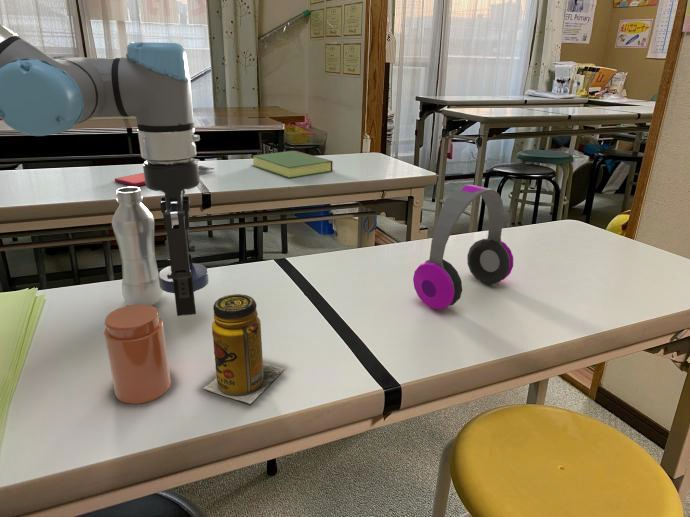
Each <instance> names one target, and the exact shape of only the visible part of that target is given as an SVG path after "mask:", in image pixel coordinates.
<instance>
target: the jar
mask: <svg viewBox="0 0 690 517" xmlns="http://www.w3.org/2000/svg"><path fill="white" fill-rule="evenodd" d="M104 326H105V328H104V331H103V335H104V341H105V346H106V347H105V348H106V352H107V358H108V362H109V368H110V373H111V379H112V385H113V390H114V395H115V397H116V399H117V400H118V401H120V402H122V403H125V404H133V405H138V404H144V403H145V404H146V403H148V402H152V401H154V400H156V399H158V398H160V397H162V396H163V395H165V394H166V393H167V392H168V391H169V389H170V387H171V385H172V381H171V373H170V364H169V358H168V350H167V342H166V336H165V334H166V333H165V328H164V327H165V326H164V322H163V319H162V318H160V316H159V311H158V308H156V306H153V305H145V304H136V305H129V304H128V305H124V306H121V307H118V308H116V309H114V310H113V311H110V312H109V313H108V314H107V316H106V317H105V320H104Z"/></svg>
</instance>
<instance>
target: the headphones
mask: <svg viewBox="0 0 690 517" xmlns="http://www.w3.org/2000/svg"><path fill="white" fill-rule="evenodd" d="M478 197H481V198H482V199H483V201H484V204H485V206H486V209H487V216H488V229H487V230H488V231H487V232H488V234H487V238H482V239H480V240H477V241H475V242H474V243H473V244H472V245H471V246H470V247H469V250H468V252H467V255H466V256H467V257H466V259H467V266H468V269H469V272H470V274H471V275H472V276H473V277H474V279H475V280H477V281H479V282H480V283H482V284H485V285H495V284H497V283H500V282H501V281H504V280H505V279H507V278H508V276H510V274H511V272H512V270H513V268H514V256H513V253H512V250H511V248H510V247H509V246H508V245H507V243H506V242H504V241H502V232H503V225H504V214H505V213H504V210H505V209H504V202H503V199H502V197H501V195H500V193H499V192H498V191H496V190H495V189H492V188H488V187H485V186H479V185H475V184H461V185H459V186H457V187H456V188H454V189H453V190H452V191H451V193H449V195H447V197H446V199H445V201H444V203H443V204H442V207H441V208H440V212H439V215H438V217H437V221H436V225H435V229H434V231H433V235H432V239H431V244H430V251H429V258H428V259H427V260H425V261H424V262H423V263H420V264H419V265H418V267H417V268H416V269H415V270H414V272H413V278H412V281H413V282H412V283H413V288H414V291H415V292H416V295H417V297H418V298H419V299H420V301H421V302H422V303H423V304H425V305H426V306H427V307H428V308H431V309H433V310H443V309H447V308H449V307H450V306H453V305H455V304H456V303H457V302H458V301H459V300H460V299H461V296H462V293H463V284H462V278H461V277H460V274H459V272H458V270H457V269H456V268H455V267H454V266H453V264H452V263H451V262H448V261H447V260H445V259H444V254H445V249H446V245H447V243H448V241H449V239H450V236H451V233H452V231H453V229H454V227H455V226H456V224H457V222H458V221H459V219H460V217H461V216H462V215H463V213H464V212H465V211H466V209H467V208H468V206H469V205H470V204H471V203H473V202H474V201H475V200H476V199H477V198H478Z"/></svg>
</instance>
